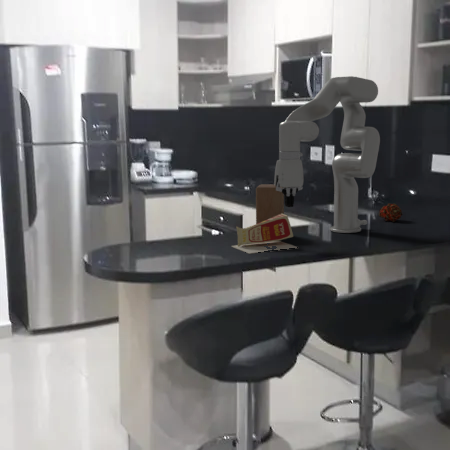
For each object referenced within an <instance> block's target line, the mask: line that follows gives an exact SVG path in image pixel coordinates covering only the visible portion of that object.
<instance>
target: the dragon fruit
mask: <svg viewBox="0 0 450 450" xmlns="http://www.w3.org/2000/svg"><path fill="white" fill-rule="evenodd" d="M403 215H404V214H403V211H402V209H401V207H400V206H399V205H397V204H396V203H387V205H383V206H382V207H381V208H380V209H379V210H378V216H379V217H380V218H382V219H384V221H385V222H396V221H397V220H400V219H401V218H402V216H403Z"/></svg>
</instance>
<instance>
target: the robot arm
mask: <svg viewBox="0 0 450 450" xmlns="http://www.w3.org/2000/svg"><path fill="white" fill-rule="evenodd" d="M378 95H379V87H378V84H377V83H376V82H375V81H374V80H372V79H368V78H363V77H359V76H358V77H357V76H352V75H351V76H336V77H331V78H330V79H328V80H327V81H326V82H325V84H324V85H323V86H322V87H321V89H320V90H319V91H318V92H317V94H316V95H315V96H314V98H313V99H312V100H309V101H308V102H306V103H305V104H302V105H301V106H299V107H297V108H296V109H295V110H293V111H292V112H291V113H290V114H289V115H288V117H286V119H284V120H285V121H282V122H280V123H279V126H278V127H279V128H278V131H279V132H278V135H279V137H278V140H279V141H278V142H279V143H278V149H279V151H278V159H277V160H276V164H275V169H274V181H273V183H274V185H275V186H276V191H280V192H282V193H283V195H284V207H287V208H294V205H295V196H296V194H297V192H298V191H302V190H303V189H304V187H303V185H304V167H303V161H302V159H301V157H303V152H301V142H313V141H315V140H316V139H317V138H318V136H319V133H320V128H319V126H318V123H316V122H314V121H317V120H321V119H323V118H326V117H327V116H329V115H330V114H332V112H333V111H334V110H335V108H336V107H337V105H338V104H339V103H340V105H341V106H342V109H343V114H344V117H343V123H342V129H341V134H340V141H339V143H340V146H341V148H343V150H346V151H357V152H358V151H361V153H355V152H353V153H352V152H343V153H341V152H340V153H338V154H336V155H335V156H334V157H333V159H332V162H331V166H332V173H333V184H334V186H333V187H334V191H333V193H334V194H333V195H334V196H333V225H332V226H330V227H329V230H330V231H331V232H334V233H340V234H341V233H343V234H353V233H359V232H361V231H362V228H361V226H362V225H364V226H365V225H367V224H368V221H367V219H362V220H360V218H358V217H359V216H358V215H359V214H358V213H359V211H358V210H359V186H358V183H357V181H356V179H355V178H358V179H359V178H360V179H368V178H370V177H372V176H373V175H374V173H375V170H376V167H377V161H378V154H379V151H380V143H381V137H380V133H379V131H378V129H377V128H375V127H374V126H365V125H366V117H367V116H366V112H365V109H364V108H363V106H362V105H361V103H362V104H363V103H371V102H374V101H375V100H376V99H377V97H378ZM282 188H283V189H282Z"/></svg>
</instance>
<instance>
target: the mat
mask: <svg viewBox="0 0 450 450" xmlns="http://www.w3.org/2000/svg"><path fill="white" fill-rule="evenodd" d="M267 243H270V244H268V245H267ZM264 246H268V247H270V248H272V246H276V247H277V248H276V249H274V250H278V251H281V250H280V249H287V250H290V249H289V248H295V249H298V248H297V247H298V246H295V245H293V244H291V243H287V242H284V241H282V240H278V241H272V242H265V243H247V244H243V245H240V246H238V244H235V245H231V248H233V249H236V250H238V251H241V252H244V253H245V252H246V253H245V254H249V255H252V254H259V253H258V252H261V253H265V252H264V251H268V250H272V249H267V248H266V247H264Z"/></svg>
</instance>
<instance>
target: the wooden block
mask: <svg viewBox="0 0 450 450" xmlns="http://www.w3.org/2000/svg"><path fill="white" fill-rule="evenodd" d="M282 189H283V188H282ZM279 214H285V196H284V195H283V193H282V192H280V191H276V186H275V185H274V184H270V183H269V184H268V183H267V184H262V183H261V184H259V185H258V186H256V188H255V224H258V223H260V222H263V221H265V220H268V219H270V218H272V217H275V216H277V215H279Z"/></svg>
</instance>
